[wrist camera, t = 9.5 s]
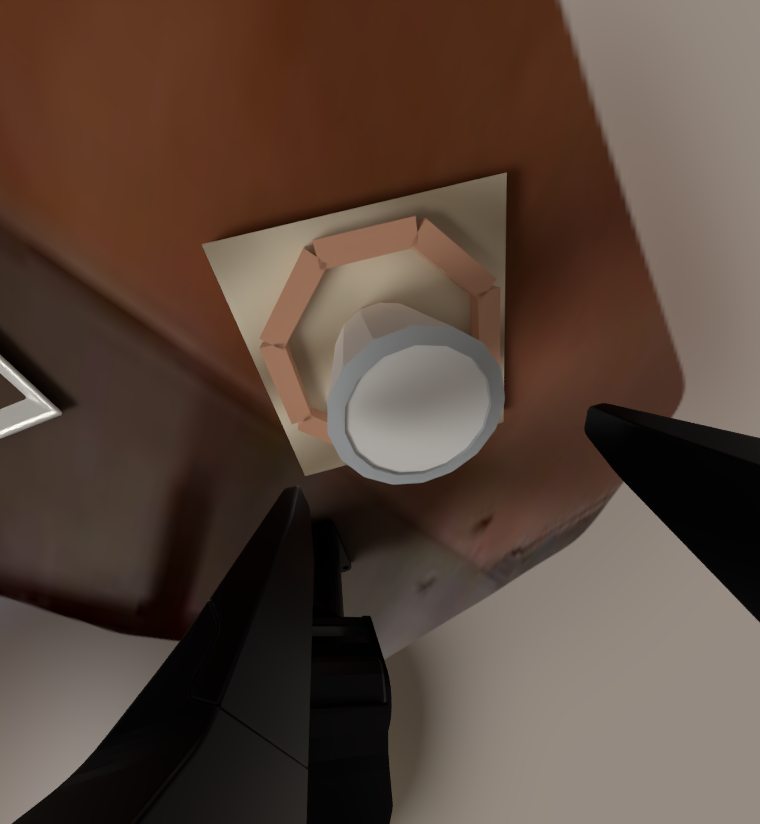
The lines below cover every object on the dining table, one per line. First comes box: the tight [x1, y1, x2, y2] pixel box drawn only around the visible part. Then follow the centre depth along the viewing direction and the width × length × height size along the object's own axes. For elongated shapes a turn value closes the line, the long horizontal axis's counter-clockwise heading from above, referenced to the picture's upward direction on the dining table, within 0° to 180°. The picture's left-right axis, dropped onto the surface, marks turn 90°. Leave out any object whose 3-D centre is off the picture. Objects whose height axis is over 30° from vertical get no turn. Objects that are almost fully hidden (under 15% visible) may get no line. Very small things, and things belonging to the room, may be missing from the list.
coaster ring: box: [259, 216, 500, 444], centre depth 17 cm, size 12×12×1 cm
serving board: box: [202, 172, 507, 476], centre depth 18 cm, size 14×14×1 cm
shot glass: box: [327, 302, 505, 485], centre depth 15 cm, size 7×7×7 cm
